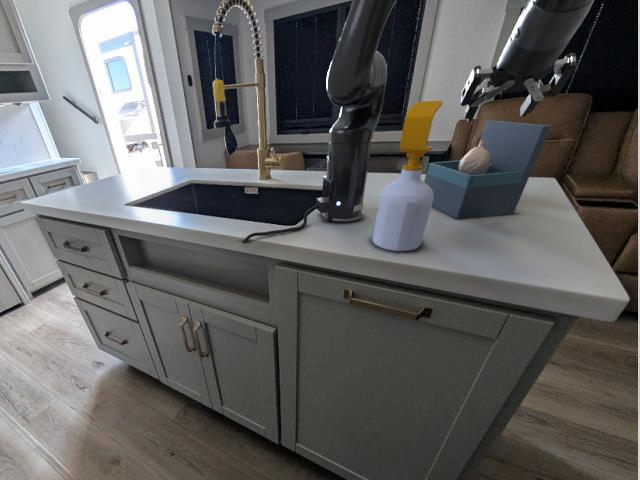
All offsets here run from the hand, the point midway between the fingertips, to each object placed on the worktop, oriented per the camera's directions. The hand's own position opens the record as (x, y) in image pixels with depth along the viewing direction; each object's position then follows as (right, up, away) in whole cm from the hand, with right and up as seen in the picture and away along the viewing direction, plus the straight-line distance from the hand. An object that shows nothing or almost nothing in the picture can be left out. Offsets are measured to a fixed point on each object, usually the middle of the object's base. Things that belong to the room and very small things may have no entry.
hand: (494, 115), depth 60 cm
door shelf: (+6, -12, +18) cm, 23 cm away
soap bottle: (-18, -24, +3) cm, 30 cm away
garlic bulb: (+5, -7, +14) cm, 17 cm away
